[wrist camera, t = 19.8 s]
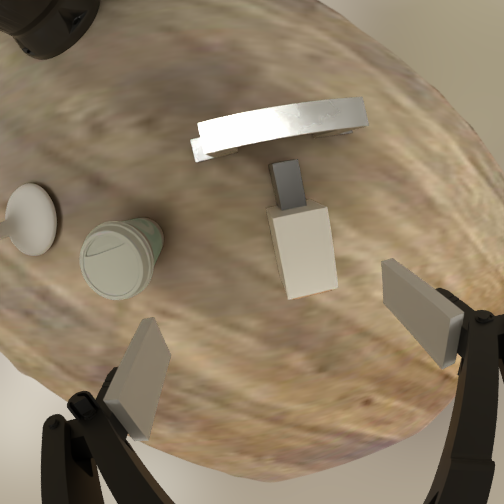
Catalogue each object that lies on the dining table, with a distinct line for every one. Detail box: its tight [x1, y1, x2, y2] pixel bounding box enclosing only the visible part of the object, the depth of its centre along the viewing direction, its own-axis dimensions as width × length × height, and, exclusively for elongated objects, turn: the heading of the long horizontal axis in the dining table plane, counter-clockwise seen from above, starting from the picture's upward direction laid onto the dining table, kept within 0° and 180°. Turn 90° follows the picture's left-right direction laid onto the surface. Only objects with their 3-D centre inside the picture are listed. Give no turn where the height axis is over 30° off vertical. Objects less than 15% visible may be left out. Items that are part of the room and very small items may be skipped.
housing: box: [191, 97, 369, 162], centre depth 30 cm, size 3×21×11 cm, turn 102°
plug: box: [266, 159, 338, 300], centre depth 35 cm, size 16×6×8 cm, turn 12°
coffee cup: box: [80, 218, 164, 300], centre depth 33 cm, size 8×9×12 cm
